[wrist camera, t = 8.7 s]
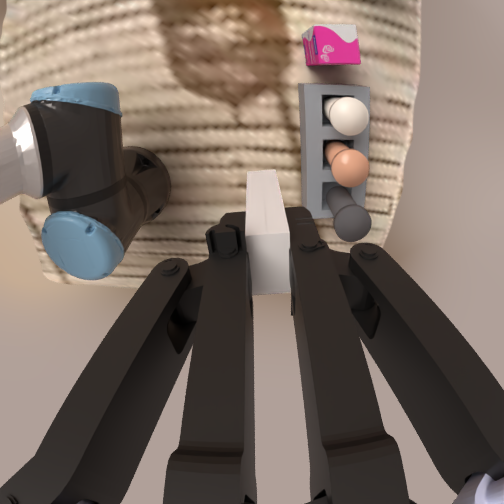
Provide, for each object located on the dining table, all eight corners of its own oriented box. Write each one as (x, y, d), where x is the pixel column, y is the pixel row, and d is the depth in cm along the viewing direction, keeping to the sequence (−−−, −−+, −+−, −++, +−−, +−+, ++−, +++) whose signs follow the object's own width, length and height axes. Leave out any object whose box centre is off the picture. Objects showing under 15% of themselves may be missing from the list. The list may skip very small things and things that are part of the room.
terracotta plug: (319, 166, 45) (332, 187, 38) (318, 135, 42) (333, 150, 35) (349, 165, 45) (368, 187, 37) (350, 135, 42) (370, 151, 34)
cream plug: (317, 123, 42) (331, 135, 34) (316, 92, 39) (330, 96, 32) (348, 123, 42) (368, 136, 34) (348, 93, 39) (369, 98, 31)
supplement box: (299, 34, 36) (313, 22, 26) (335, 33, 35) (358, 24, 26) (304, 66, 39) (319, 64, 29) (339, 65, 38) (363, 64, 29)
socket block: (301, 203, 53) (306, 219, 48) (298, 83, 41) (303, 84, 36) (353, 201, 53) (363, 216, 48) (356, 85, 40) (369, 87, 35)
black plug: (321, 212, 47) (334, 242, 39) (322, 182, 44) (336, 209, 36) (351, 211, 46) (368, 240, 39) (353, 182, 44) (373, 207, 36)
